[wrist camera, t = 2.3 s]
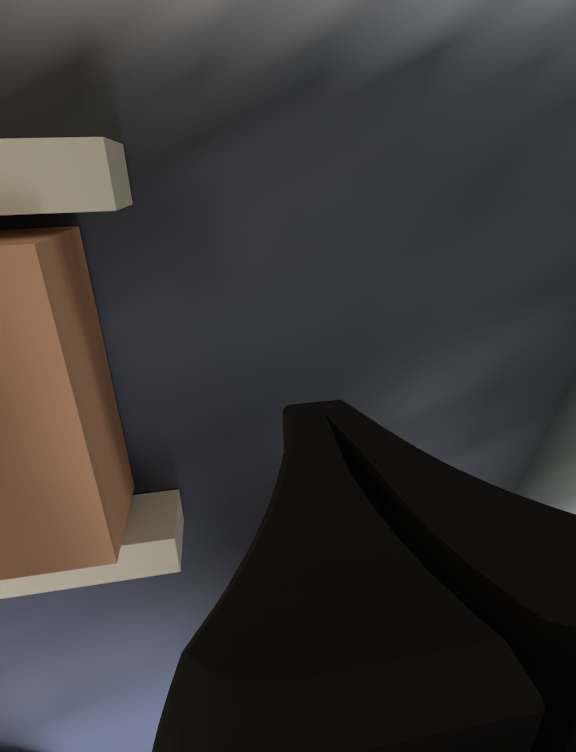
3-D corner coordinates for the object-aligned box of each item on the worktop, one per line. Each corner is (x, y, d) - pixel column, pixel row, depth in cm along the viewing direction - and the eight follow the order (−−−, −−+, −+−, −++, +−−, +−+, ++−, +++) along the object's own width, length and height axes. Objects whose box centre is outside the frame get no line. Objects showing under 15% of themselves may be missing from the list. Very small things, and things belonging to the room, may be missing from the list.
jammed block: (78, 226, 12) (34, 243, 9) (134, 486, 16) (116, 563, 13) (-123, 234, 12) (-246, 257, 8) (-15, 505, 15) (-72, 591, 12)
